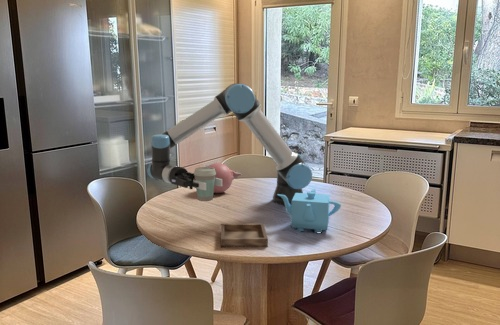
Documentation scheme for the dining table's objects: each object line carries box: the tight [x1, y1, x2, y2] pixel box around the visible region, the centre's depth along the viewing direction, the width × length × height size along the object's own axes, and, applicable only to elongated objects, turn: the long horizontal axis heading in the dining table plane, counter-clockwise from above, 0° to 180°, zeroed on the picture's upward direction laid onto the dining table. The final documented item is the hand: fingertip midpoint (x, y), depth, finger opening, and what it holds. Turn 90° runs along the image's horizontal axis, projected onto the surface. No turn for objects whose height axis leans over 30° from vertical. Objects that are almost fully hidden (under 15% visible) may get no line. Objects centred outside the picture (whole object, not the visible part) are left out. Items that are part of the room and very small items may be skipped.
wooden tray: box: [220, 222, 269, 248], centre depth 161 cm, size 16×16×3 cm
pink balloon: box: [207, 162, 243, 194], centre depth 224 cm, size 15×20×15 cm
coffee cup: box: [193, 166, 216, 202], centre depth 168 cm, size 8×8×12 cm
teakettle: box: [277, 188, 342, 233], centre depth 172 cm, size 19×19×15 cm
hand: (213, 184), depth 164 cm, fingers closed on coffee cup, 8 cm apart
